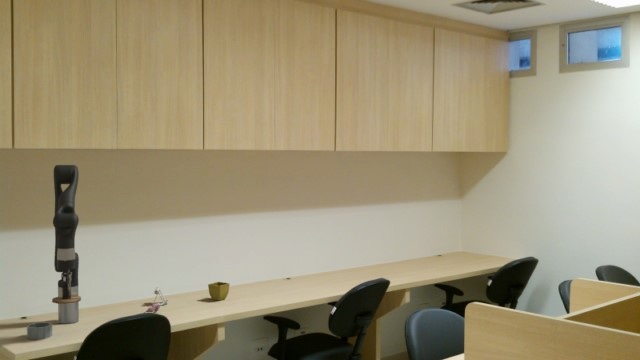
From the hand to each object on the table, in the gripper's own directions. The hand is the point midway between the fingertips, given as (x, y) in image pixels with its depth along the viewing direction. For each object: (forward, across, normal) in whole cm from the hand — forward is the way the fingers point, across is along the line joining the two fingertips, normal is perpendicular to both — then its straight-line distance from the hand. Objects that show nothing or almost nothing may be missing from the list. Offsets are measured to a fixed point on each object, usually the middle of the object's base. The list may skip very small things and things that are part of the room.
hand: (66, 296), depth 292 cm
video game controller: (+17, -28, +36) cm, 49 cm away
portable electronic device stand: (+18, -54, +41) cm, 70 cm away
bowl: (+17, 0, -11) cm, 20 cm away
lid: (+2, 0, 0) cm, 2 cm away
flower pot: (+18, -58, +73) cm, 95 cm away
